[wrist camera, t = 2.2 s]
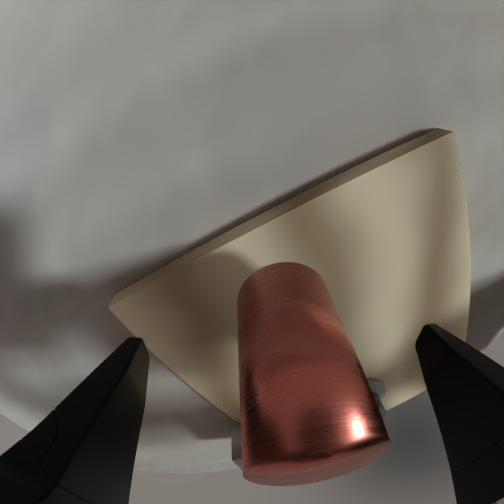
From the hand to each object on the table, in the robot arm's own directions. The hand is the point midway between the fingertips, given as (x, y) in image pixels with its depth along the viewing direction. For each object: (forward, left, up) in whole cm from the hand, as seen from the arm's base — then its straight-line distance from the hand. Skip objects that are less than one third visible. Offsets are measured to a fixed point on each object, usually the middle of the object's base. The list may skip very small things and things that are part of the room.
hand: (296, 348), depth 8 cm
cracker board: (0, +8, -6) cm, 10 cm away
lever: (0, +8, -4) cm, 9 cm away
